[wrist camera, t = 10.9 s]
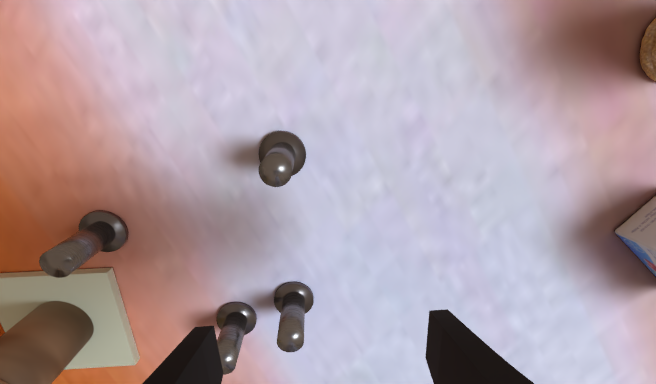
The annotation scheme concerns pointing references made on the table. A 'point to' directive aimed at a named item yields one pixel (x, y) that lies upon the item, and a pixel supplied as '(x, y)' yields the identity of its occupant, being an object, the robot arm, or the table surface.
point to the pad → (84, 292)
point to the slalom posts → (233, 318)
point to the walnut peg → (43, 343)
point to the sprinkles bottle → (649, 51)
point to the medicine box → (641, 234)
